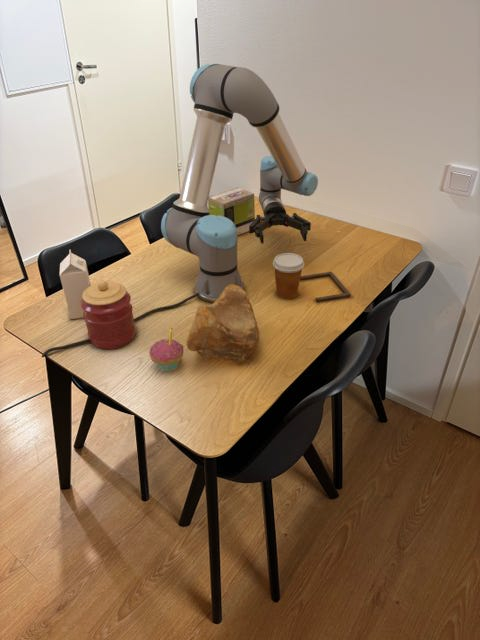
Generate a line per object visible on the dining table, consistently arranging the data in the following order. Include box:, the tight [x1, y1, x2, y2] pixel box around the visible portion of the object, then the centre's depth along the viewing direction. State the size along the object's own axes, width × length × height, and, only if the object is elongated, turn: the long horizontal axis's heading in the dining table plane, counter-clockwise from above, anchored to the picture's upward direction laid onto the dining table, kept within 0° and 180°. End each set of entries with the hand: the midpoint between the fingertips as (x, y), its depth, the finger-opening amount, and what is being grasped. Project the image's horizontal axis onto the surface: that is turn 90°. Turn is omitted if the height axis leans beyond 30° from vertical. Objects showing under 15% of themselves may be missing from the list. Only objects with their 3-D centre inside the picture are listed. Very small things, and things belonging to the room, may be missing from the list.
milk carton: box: [59, 249, 92, 320], centre depth 142 cm, size 7×7×19 cm
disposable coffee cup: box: [272, 252, 305, 300], centre depth 151 cm, size 10×10×12 cm
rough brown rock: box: [186, 284, 260, 364], centre depth 127 cm, size 23×17×15 cm
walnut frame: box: [300, 271, 352, 303], centre depth 157 cm, size 11×15×1 cm
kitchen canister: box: [81, 279, 137, 350], centre depth 132 cm, size 13×13×18 cm
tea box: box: [207, 187, 256, 236], centre depth 188 cm, size 15×10×15 cm
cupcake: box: [148, 327, 184, 372], centre depth 123 cm, size 9×8×12 cm
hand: (283, 238), depth 154 cm, fingers open, 13 cm apart
